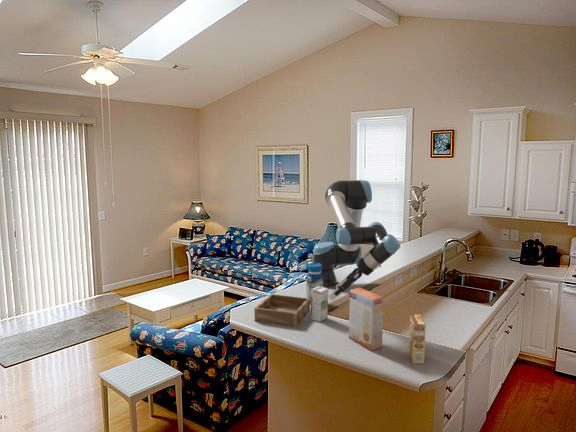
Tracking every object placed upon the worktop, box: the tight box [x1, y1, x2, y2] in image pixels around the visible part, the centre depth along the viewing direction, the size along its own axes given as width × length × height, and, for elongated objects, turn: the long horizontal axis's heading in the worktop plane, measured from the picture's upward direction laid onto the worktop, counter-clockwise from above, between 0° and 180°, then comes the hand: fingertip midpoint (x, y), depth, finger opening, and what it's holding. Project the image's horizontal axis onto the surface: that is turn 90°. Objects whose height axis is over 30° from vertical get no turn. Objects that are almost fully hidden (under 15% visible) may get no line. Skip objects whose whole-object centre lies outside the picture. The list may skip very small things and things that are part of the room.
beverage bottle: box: [305, 262, 323, 306], centre depth 211 cm, size 8×8×20 cm
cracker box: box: [348, 287, 384, 352], centre depth 168 cm, size 14×6×21 cm, turn 30°
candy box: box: [408, 314, 426, 365], centre depth 156 cm, size 9×4×15 cm, turn 174°
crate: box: [254, 293, 311, 328], centre depth 197 cm, size 20×20×6 cm
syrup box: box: [310, 286, 329, 323], centre depth 192 cm, size 6×6×14 cm
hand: (334, 293), depth 188 cm, fingers open, 13 cm apart
